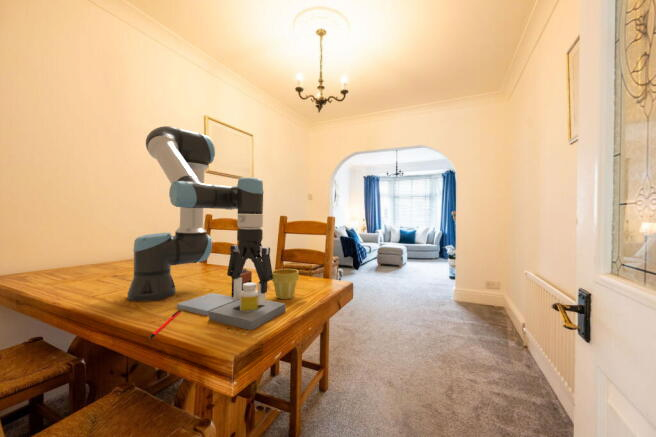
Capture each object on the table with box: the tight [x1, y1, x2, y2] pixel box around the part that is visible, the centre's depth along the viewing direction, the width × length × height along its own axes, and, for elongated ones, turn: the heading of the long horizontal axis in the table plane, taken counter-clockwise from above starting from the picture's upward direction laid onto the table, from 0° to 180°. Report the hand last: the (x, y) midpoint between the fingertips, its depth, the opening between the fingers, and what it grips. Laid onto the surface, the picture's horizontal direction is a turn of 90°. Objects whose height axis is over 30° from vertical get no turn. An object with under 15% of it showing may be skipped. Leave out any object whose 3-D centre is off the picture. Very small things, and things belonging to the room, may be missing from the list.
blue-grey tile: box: [176, 292, 240, 317], centre depth 90 cm, size 14×14×2 cm
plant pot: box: [271, 268, 300, 300], centre depth 101 cm, size 10×10×10 cm
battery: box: [231, 268, 253, 297], centre depth 101 cm, size 4×7×10 cm, turn 159°
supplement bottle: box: [240, 282, 258, 313], centre depth 81 cm, size 5×5×10 cm
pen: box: [149, 309, 182, 339], centre depth 74 cm, size 1×19×1 cm, turn 9°
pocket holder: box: [208, 299, 286, 331], centre depth 81 cm, size 16×16×2 cm
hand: (249, 301), depth 81 cm, fingers open, 9 cm apart
